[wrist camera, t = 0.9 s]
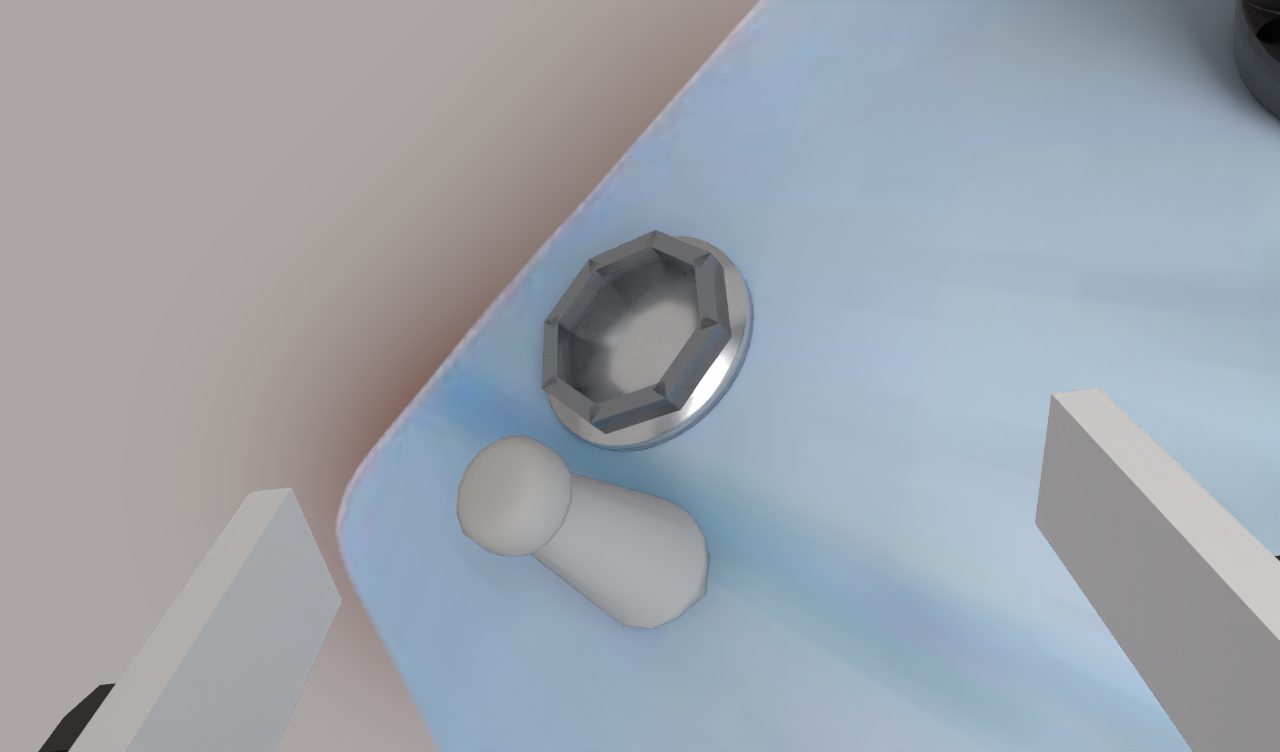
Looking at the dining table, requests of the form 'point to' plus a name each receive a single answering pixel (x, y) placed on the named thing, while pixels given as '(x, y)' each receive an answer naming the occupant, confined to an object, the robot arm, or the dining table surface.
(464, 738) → the dining table surface
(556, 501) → the salt shaker
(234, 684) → the robot arm
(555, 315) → the steel collar
